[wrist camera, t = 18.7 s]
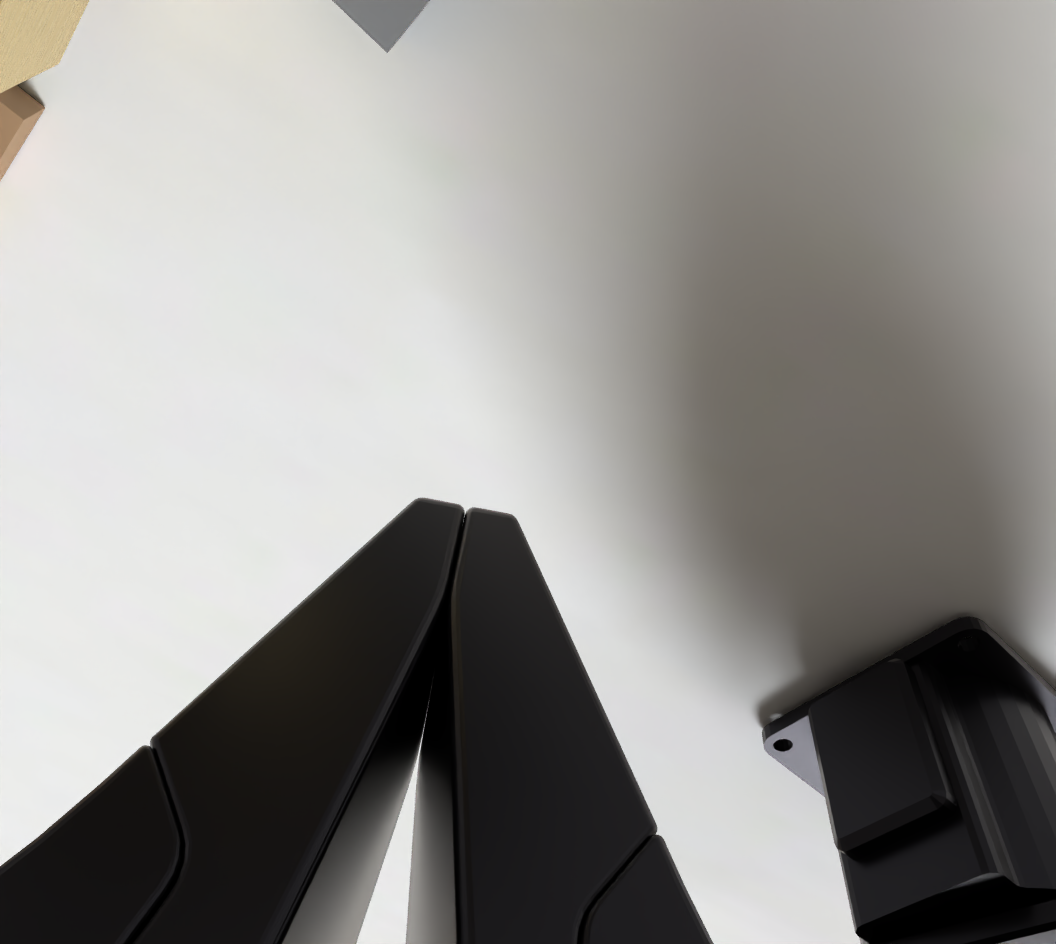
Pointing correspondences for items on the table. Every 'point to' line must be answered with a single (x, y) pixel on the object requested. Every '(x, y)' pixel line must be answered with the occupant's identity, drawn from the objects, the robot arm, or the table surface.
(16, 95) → the peg rack
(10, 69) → the gold low rounded piece
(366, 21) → the nut base
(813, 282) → the table surface
